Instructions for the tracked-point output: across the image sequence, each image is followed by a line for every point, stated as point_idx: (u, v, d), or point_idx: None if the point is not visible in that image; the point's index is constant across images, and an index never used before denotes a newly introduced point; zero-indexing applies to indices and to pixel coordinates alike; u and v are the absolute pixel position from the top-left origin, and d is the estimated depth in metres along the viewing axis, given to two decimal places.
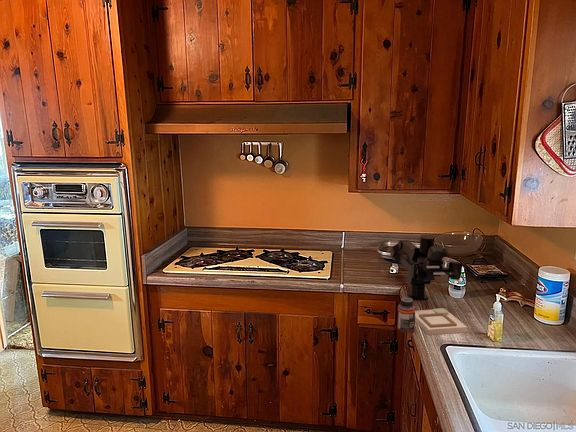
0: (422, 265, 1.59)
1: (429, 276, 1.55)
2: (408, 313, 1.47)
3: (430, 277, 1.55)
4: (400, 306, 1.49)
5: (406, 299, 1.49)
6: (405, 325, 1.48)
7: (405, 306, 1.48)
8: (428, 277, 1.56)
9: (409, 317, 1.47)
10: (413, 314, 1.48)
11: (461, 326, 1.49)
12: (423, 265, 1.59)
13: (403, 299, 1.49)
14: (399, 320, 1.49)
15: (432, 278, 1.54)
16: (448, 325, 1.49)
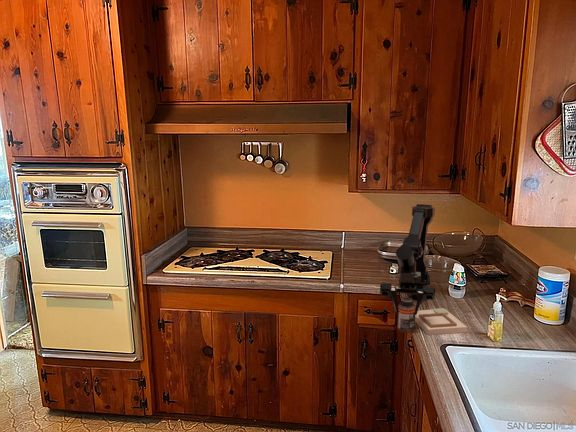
0: (392, 291, 1.51)
1: (395, 306, 1.51)
2: (408, 313, 1.47)
3: (395, 308, 1.50)
4: (400, 306, 1.49)
5: (406, 299, 1.49)
6: (405, 325, 1.48)
7: (405, 305, 1.48)
8: (394, 306, 1.51)
9: (409, 317, 1.47)
10: (413, 314, 1.48)
11: (461, 326, 1.49)
12: (393, 291, 1.51)
13: (403, 299, 1.49)
14: (399, 320, 1.49)
15: (396, 311, 1.50)
16: (448, 325, 1.49)
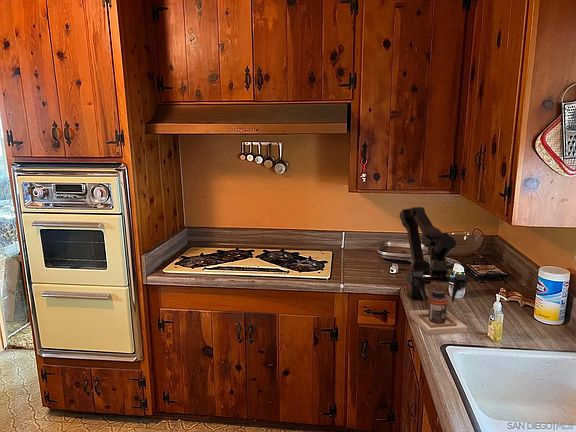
0: (419, 279, 1.53)
1: (422, 294, 1.53)
2: (439, 305, 1.49)
3: (423, 295, 1.53)
4: (432, 297, 1.51)
5: (437, 290, 1.51)
6: (437, 316, 1.50)
7: (437, 297, 1.50)
8: (422, 293, 1.53)
9: (441, 308, 1.49)
10: (445, 305, 1.50)
11: (461, 326, 1.49)
12: (421, 279, 1.53)
13: (435, 290, 1.51)
14: (431, 311, 1.51)
15: (423, 298, 1.52)
16: (448, 325, 1.49)
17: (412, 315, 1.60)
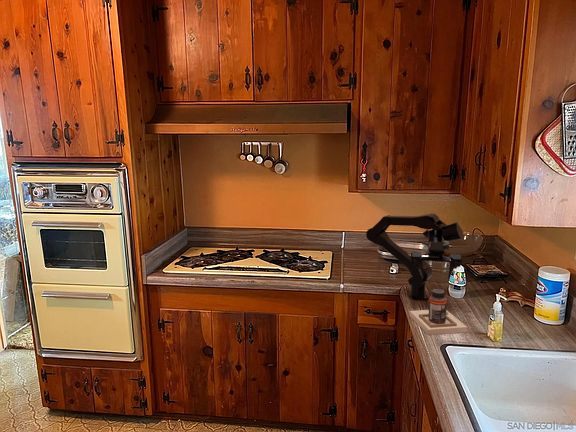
0: (418, 259, 1.66)
1: (420, 272, 1.65)
2: (439, 304, 1.49)
3: (421, 274, 1.65)
4: (431, 297, 1.51)
5: (437, 290, 1.51)
6: (437, 316, 1.50)
7: (436, 297, 1.50)
8: (420, 272, 1.66)
9: (441, 308, 1.49)
10: (445, 305, 1.50)
11: (461, 326, 1.49)
12: (419, 259, 1.66)
13: (435, 290, 1.51)
14: (430, 311, 1.51)
15: (422, 276, 1.65)
16: (448, 325, 1.49)
17: (412, 315, 1.60)
